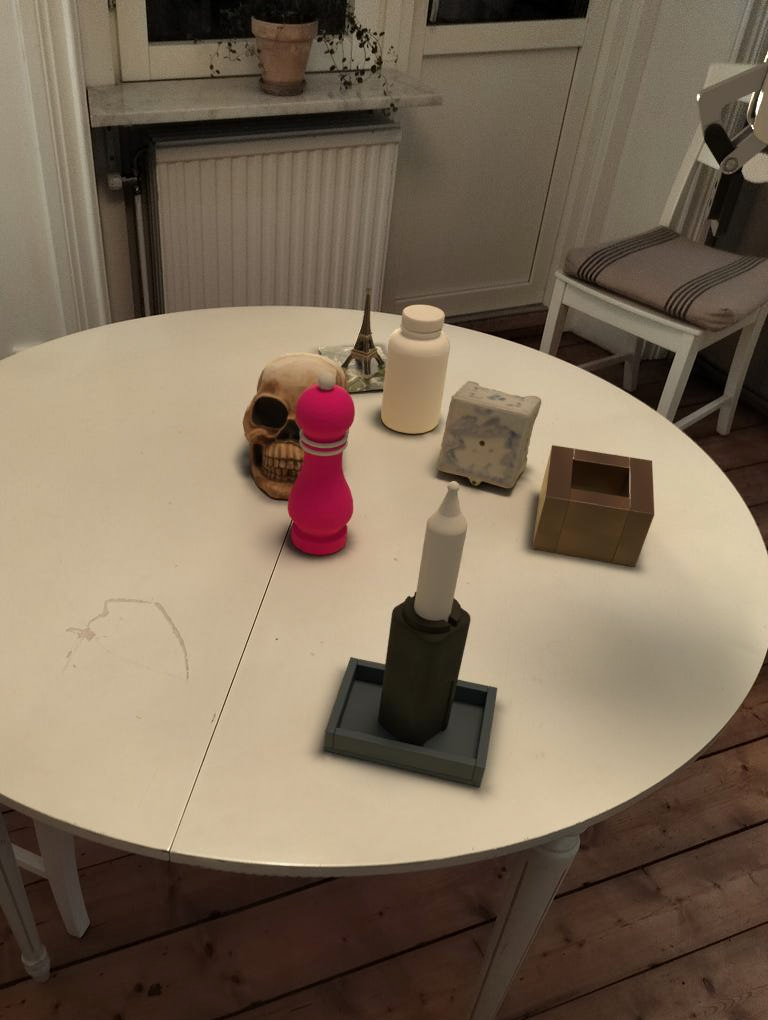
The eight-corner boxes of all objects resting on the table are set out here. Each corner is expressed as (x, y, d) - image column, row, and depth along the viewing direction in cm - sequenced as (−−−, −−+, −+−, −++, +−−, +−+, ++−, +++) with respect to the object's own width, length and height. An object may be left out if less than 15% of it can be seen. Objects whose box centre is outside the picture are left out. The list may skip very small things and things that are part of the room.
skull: (276, 505, 102) (274, 395, 94) (216, 451, 114) (210, 350, 106) (387, 477, 108) (394, 372, 100) (318, 429, 120) (320, 332, 112)
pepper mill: (278, 527, 99) (279, 362, 85) (335, 515, 101) (346, 352, 87) (300, 564, 94) (306, 395, 80) (361, 550, 96) (376, 383, 82)
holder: (634, 511, 102) (652, 460, 98) (635, 567, 95) (654, 514, 90) (539, 495, 105) (552, 444, 100) (531, 548, 97) (545, 496, 92)
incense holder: (527, 465, 110) (546, 389, 103) (510, 498, 104) (528, 420, 97) (454, 447, 113) (466, 372, 106) (433, 477, 107) (445, 401, 100)
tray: (492, 706, 79) (497, 687, 77) (480, 787, 72) (485, 768, 71) (348, 675, 82) (350, 656, 80) (323, 750, 75) (324, 731, 73)
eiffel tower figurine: (316, 350, 133) (320, 261, 124) (379, 346, 135) (388, 258, 126) (336, 395, 123) (341, 302, 114) (405, 391, 124) (415, 298, 115)
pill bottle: (448, 416, 119) (465, 308, 108) (423, 441, 114) (438, 330, 103) (396, 401, 122) (408, 295, 111) (370, 425, 117) (379, 315, 106)
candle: (413, 752, 74) (457, 511, 57) (372, 718, 77) (402, 478, 60) (453, 724, 77) (506, 485, 60) (412, 692, 79) (451, 455, 62)
